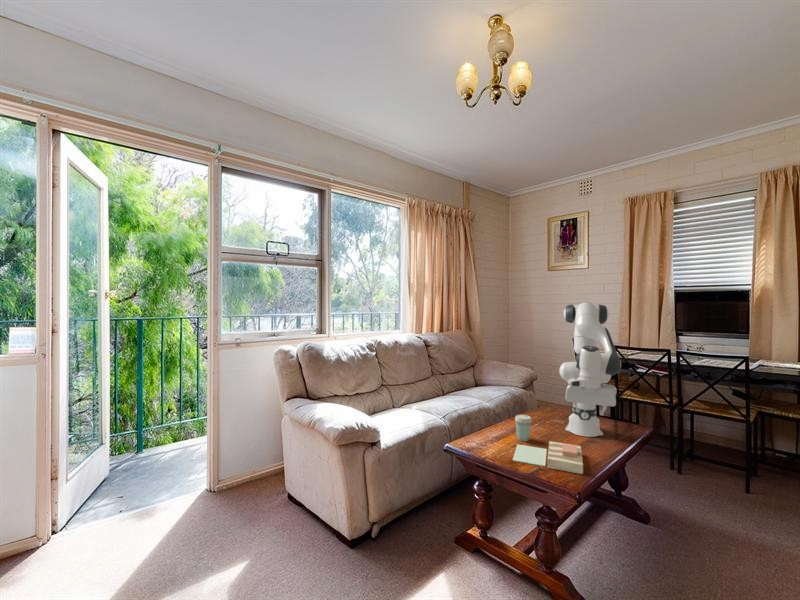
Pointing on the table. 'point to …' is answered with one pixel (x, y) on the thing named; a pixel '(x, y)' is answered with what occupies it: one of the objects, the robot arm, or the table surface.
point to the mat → (530, 455)
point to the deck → (564, 459)
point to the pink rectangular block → (569, 450)
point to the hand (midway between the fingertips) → (589, 413)
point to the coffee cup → (523, 427)
